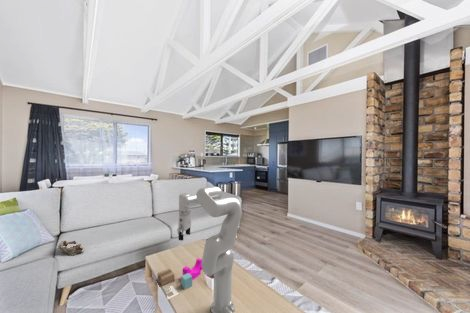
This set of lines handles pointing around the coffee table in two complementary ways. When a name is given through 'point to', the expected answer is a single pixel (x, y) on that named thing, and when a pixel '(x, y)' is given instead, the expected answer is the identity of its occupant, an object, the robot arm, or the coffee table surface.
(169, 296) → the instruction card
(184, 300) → the coffee table surface
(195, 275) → the magenta curved piece
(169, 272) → the base brick
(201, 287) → the coffee table surface
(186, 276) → the teal cube
